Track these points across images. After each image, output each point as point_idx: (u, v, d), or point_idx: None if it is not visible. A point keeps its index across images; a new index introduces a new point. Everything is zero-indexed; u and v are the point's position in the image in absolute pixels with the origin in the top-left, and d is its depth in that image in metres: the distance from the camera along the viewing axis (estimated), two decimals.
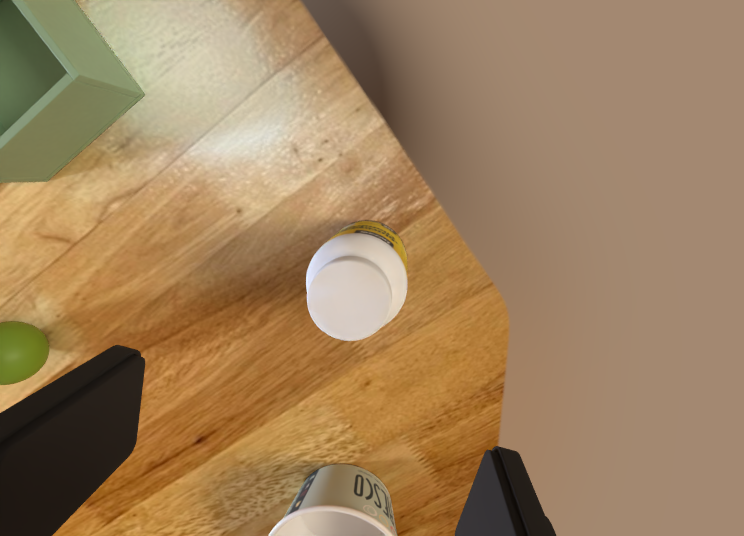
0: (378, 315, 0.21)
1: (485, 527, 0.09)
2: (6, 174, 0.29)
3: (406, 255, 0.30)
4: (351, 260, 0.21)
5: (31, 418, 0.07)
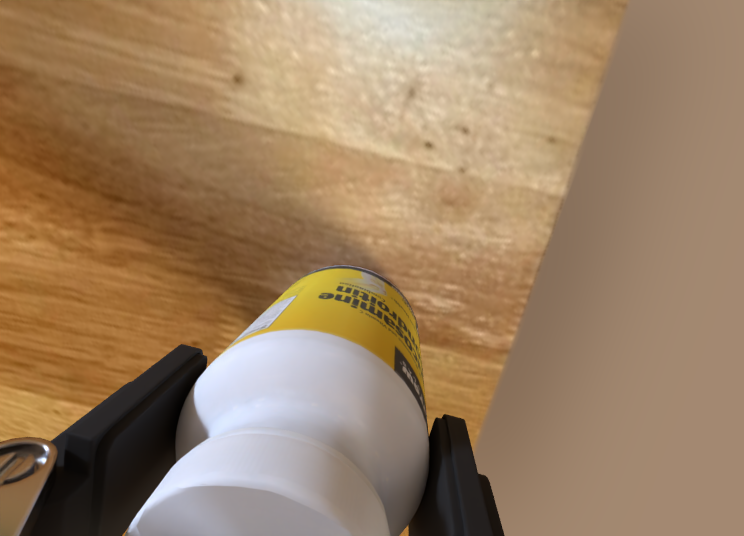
0: None
1: (429, 485, 0.10)
2: None
3: None
4: (358, 533, 0.06)
5: (127, 410, 0.08)
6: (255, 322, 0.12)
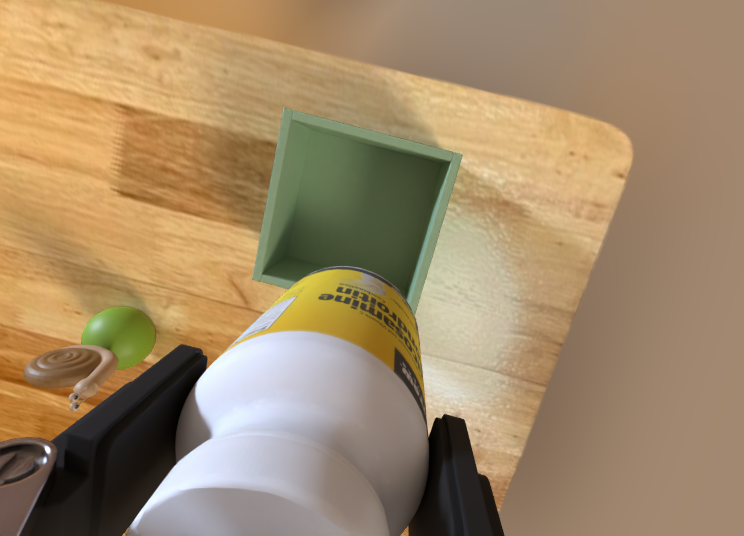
0: None
1: (429, 485, 0.10)
2: None
3: None
4: (358, 534, 0.06)
5: (127, 410, 0.08)
6: (255, 323, 0.12)
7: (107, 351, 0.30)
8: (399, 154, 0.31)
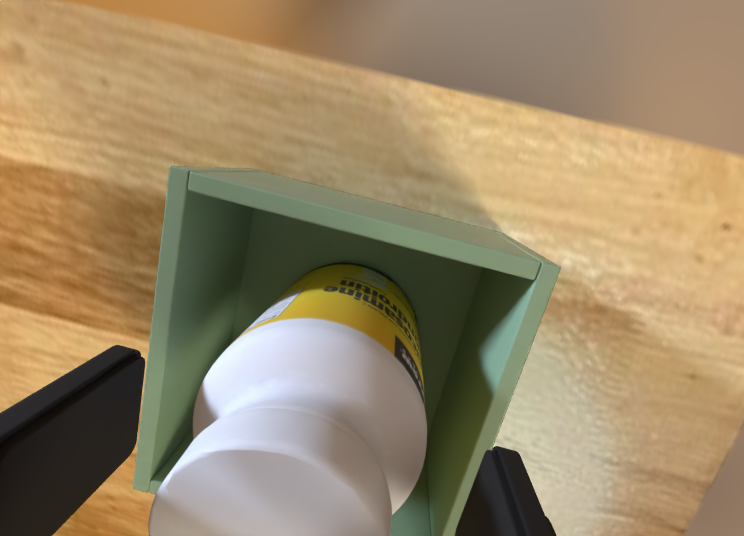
0: None
1: (485, 527, 0.09)
2: None
3: None
4: (362, 492, 0.07)
5: (31, 418, 0.07)
6: (265, 313, 0.12)
7: None
8: None
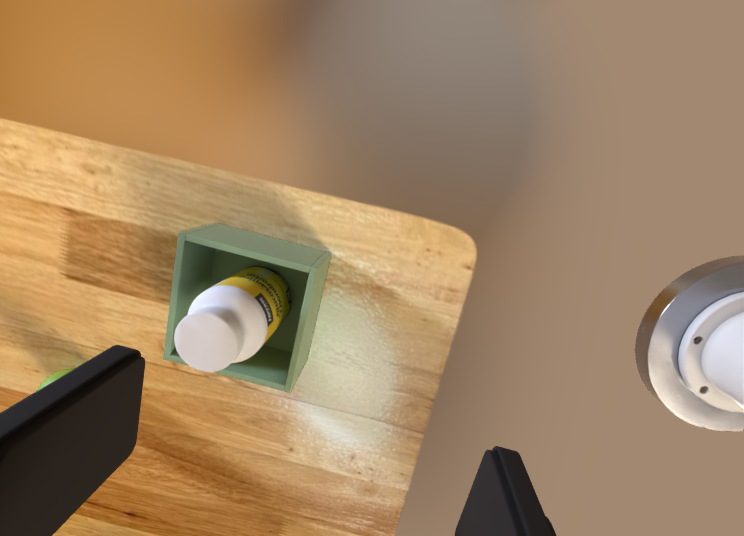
0: (214, 365, 0.28)
1: (485, 527, 0.09)
2: None
3: None
4: (229, 325, 0.28)
5: (31, 418, 0.07)
6: None
7: None
8: None
